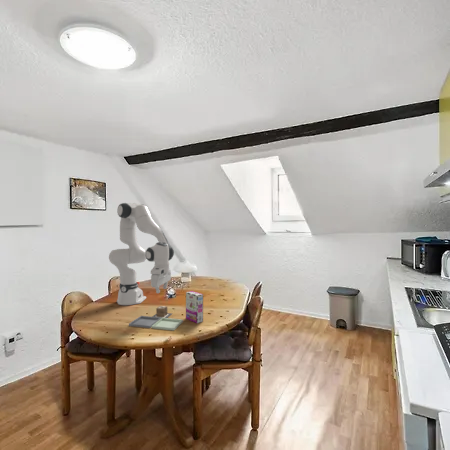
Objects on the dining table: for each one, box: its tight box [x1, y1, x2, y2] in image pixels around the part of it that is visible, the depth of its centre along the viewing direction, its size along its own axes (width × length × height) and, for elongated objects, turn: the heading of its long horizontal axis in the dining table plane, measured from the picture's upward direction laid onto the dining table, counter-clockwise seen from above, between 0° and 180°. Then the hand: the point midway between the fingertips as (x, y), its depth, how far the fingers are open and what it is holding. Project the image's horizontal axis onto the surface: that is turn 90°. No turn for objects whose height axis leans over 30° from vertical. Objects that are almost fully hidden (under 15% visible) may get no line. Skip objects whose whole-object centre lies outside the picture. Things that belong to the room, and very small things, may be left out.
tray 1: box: [128, 315, 161, 329], centre depth 159 cm, size 13×13×2 cm
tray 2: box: [151, 317, 184, 331], centre depth 156 cm, size 13×13×2 cm
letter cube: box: [155, 305, 168, 317], centre depth 171 cm, size 5×5×5 cm
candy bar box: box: [185, 290, 204, 324], centre depth 164 cm, size 11×5×16 cm, turn 44°
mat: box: [151, 312, 173, 318], centre depth 171 cm, size 10×10×1 cm
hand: (161, 290), depth 171 cm, fingers open, 8 cm apart
